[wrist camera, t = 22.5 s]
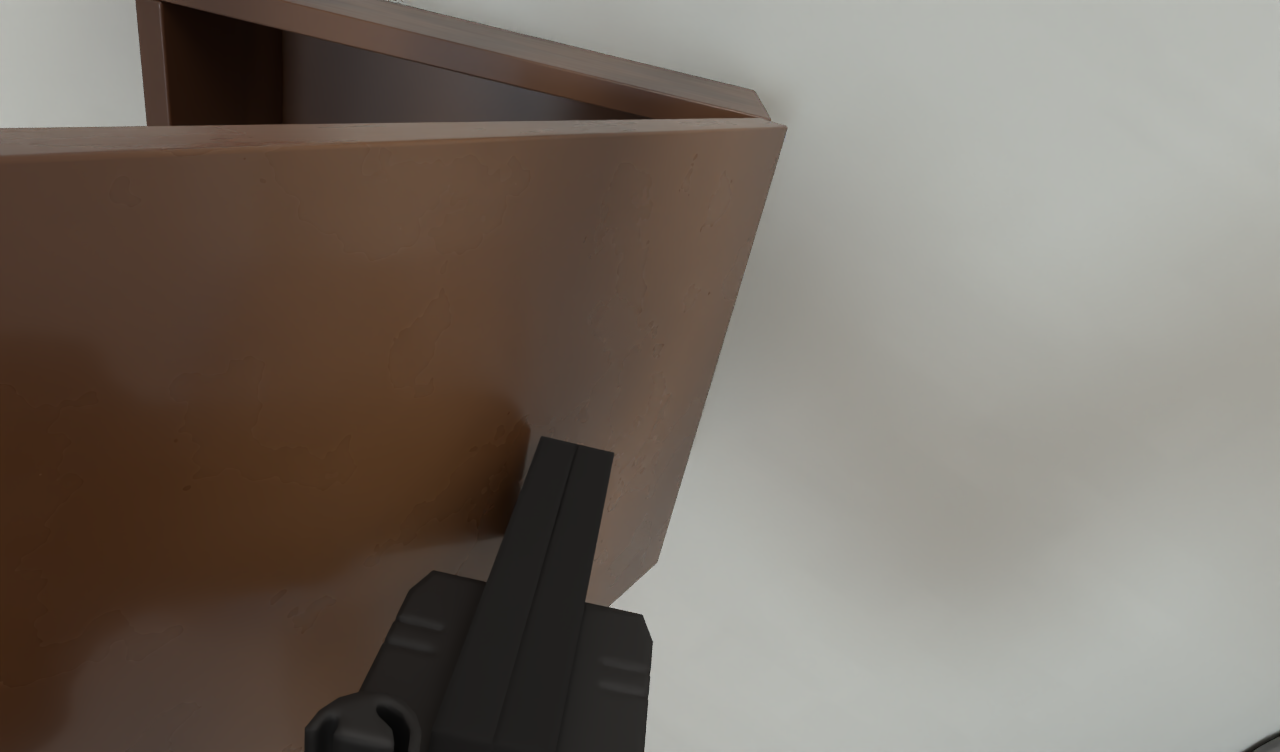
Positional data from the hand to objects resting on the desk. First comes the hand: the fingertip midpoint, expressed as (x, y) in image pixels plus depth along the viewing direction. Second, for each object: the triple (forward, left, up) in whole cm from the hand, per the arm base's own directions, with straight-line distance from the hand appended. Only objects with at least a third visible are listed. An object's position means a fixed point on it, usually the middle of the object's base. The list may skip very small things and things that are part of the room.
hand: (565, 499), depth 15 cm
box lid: (+2, 0, 0) cm, 2 cm away
